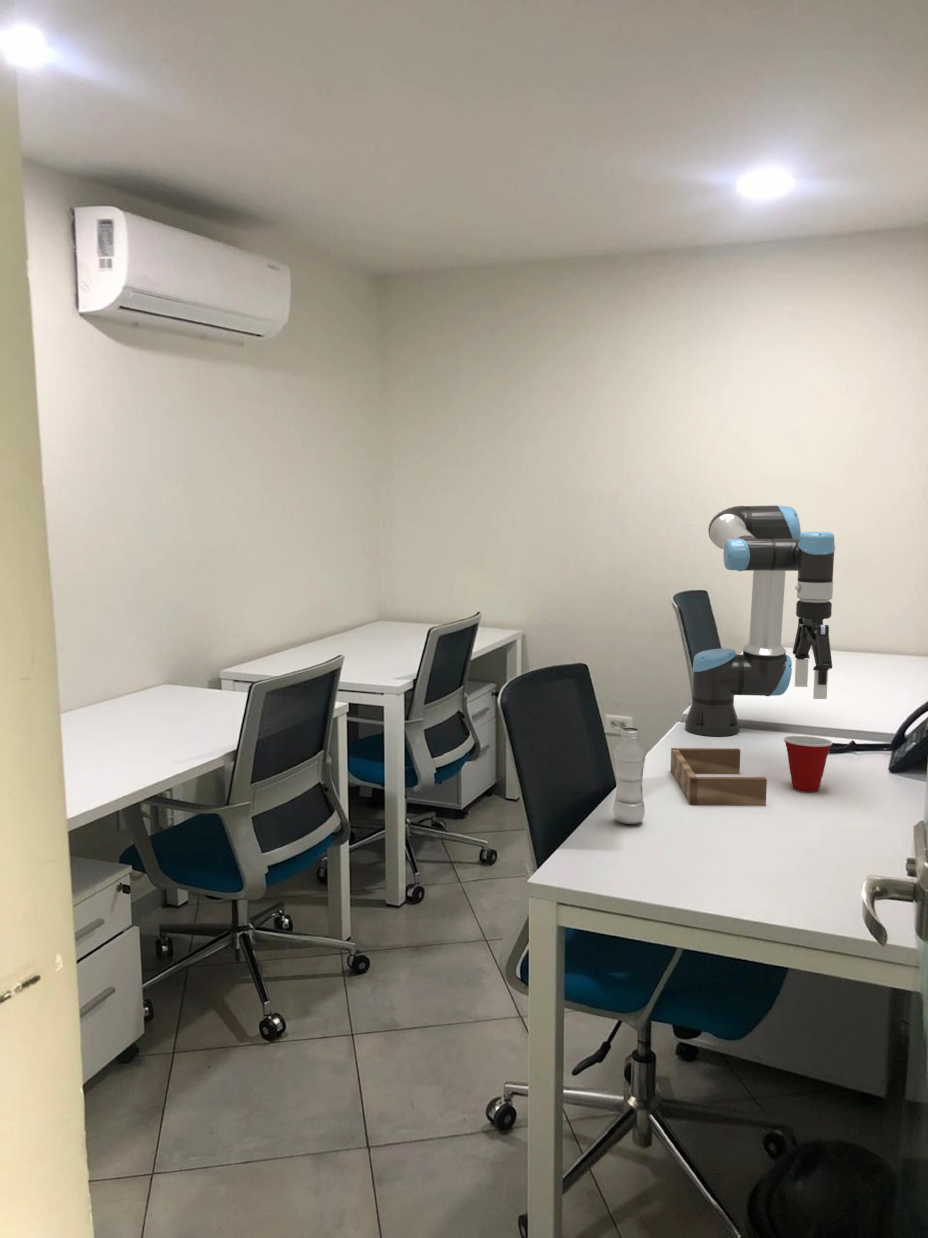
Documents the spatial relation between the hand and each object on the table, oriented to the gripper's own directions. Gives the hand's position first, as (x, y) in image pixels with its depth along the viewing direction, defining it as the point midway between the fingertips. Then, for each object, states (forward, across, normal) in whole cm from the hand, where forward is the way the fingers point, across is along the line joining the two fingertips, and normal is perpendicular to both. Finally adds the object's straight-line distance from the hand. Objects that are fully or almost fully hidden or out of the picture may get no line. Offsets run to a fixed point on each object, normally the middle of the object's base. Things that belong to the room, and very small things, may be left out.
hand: (810, 692), depth 218 cm
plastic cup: (+23, 0, 0) cm, 23 cm away
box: (+23, 0, -20) cm, 30 cm away
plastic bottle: (+23, +24, -44) cm, 55 cm away
